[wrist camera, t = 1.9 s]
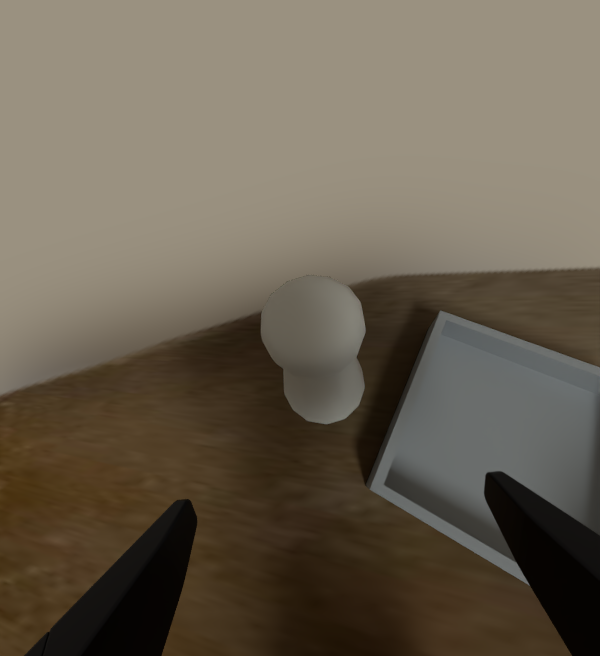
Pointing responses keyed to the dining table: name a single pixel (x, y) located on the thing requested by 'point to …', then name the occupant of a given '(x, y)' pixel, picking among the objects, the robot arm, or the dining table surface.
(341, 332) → the salt shaker
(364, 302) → the dining table surface
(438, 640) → the dining table surface
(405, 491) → the tray
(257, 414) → the dining table surface
